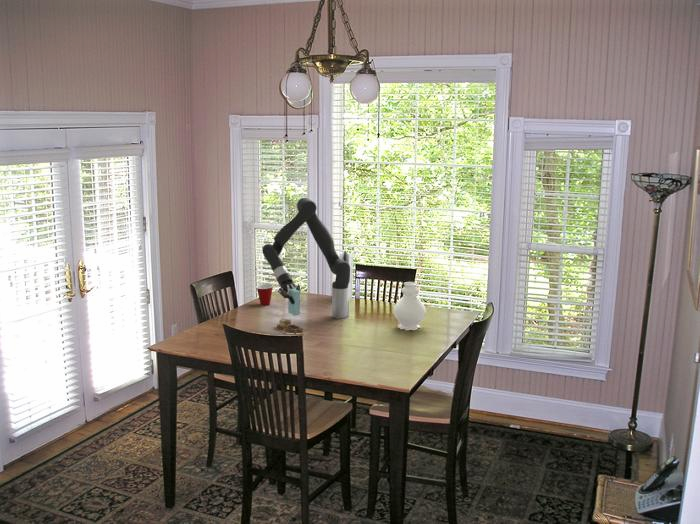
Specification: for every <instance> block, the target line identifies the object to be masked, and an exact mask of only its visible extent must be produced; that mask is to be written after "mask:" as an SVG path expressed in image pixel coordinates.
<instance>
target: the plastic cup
mask: <svg viewBox="0 0 700 524" xmlns="http://www.w3.org/2000/svg"><path fill="white" fill-rule="evenodd" d="M255 288H256V290H257V296H258V299H259V305H260V306H262V307H263V306H264V307H266V306H270V304H271V300H272V294H273V288H274V284H271V283H265V284H263V283H262V284H259V285H256V286H255Z"/></svg>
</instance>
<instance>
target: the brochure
mask: <svg viewBox="0 0 700 524" xmlns="http://www.w3.org/2000/svg"><path fill="white" fill-rule="evenodd" d="M339 255H340V256H339V258H340V259H341V260H343V261H346V262H348V263H349V265H350V282H349V284H348V300H349V301H350V299H351V298H352V297H353V289H354V287H353V286H354V285H353V283H354V282H353V281H354V277H353V276H354V250H352V251H351V252H350V253H348V251H347V250H346V249H345V250H343V251H342V252H341V253H340V254H339Z"/></svg>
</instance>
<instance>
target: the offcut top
mask: <svg viewBox="0 0 700 524" xmlns="http://www.w3.org/2000/svg"><path fill="white" fill-rule="evenodd" d="M279 323H280V324H282V325H287V324H292V321H291V319H290V318H286V317H285V318H282V319H279Z"/></svg>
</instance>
